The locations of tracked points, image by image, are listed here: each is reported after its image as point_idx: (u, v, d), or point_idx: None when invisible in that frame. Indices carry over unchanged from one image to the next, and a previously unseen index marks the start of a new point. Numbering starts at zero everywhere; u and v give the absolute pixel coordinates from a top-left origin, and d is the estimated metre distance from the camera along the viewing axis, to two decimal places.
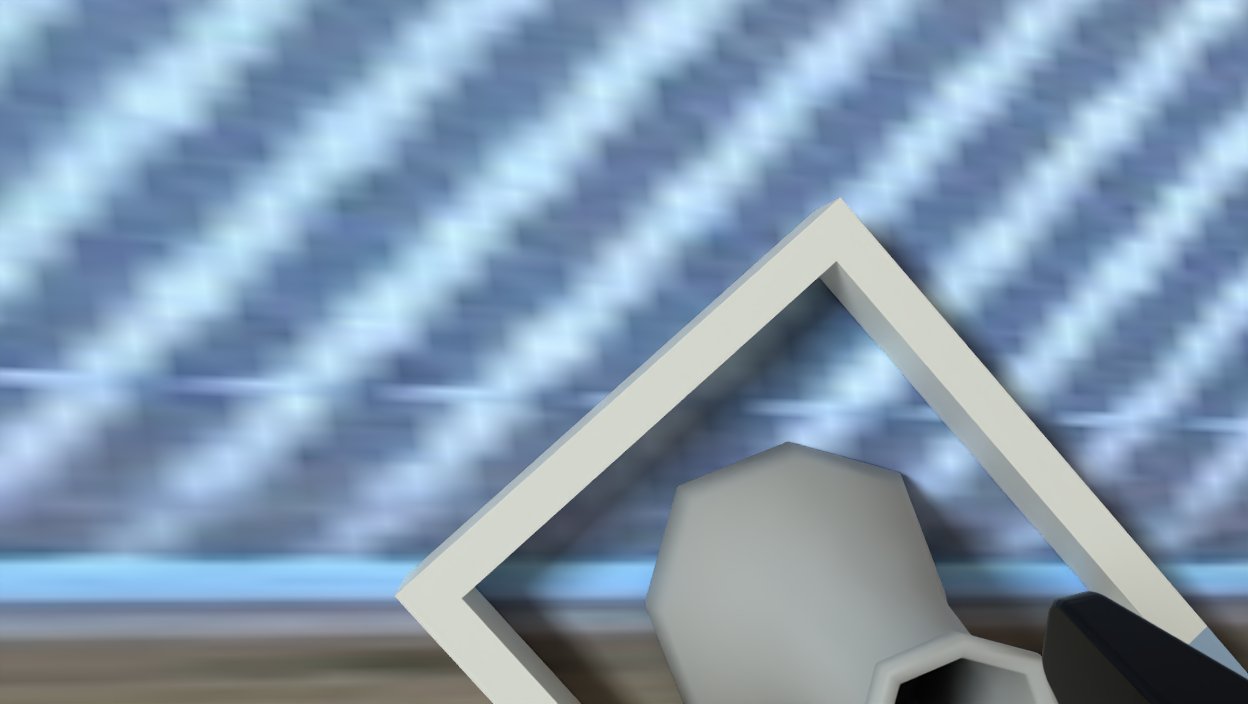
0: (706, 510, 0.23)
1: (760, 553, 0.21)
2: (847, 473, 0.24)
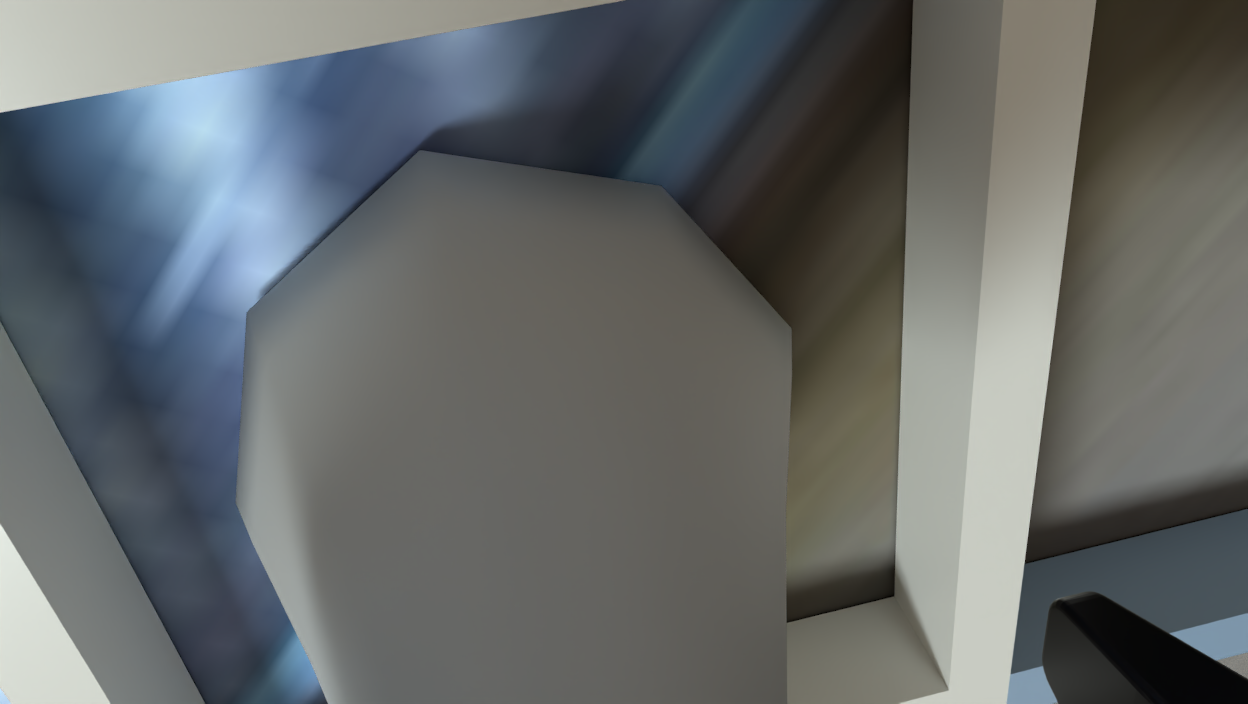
0: (265, 567, 0.12)
1: (327, 690, 0.10)
2: (339, 302, 0.11)
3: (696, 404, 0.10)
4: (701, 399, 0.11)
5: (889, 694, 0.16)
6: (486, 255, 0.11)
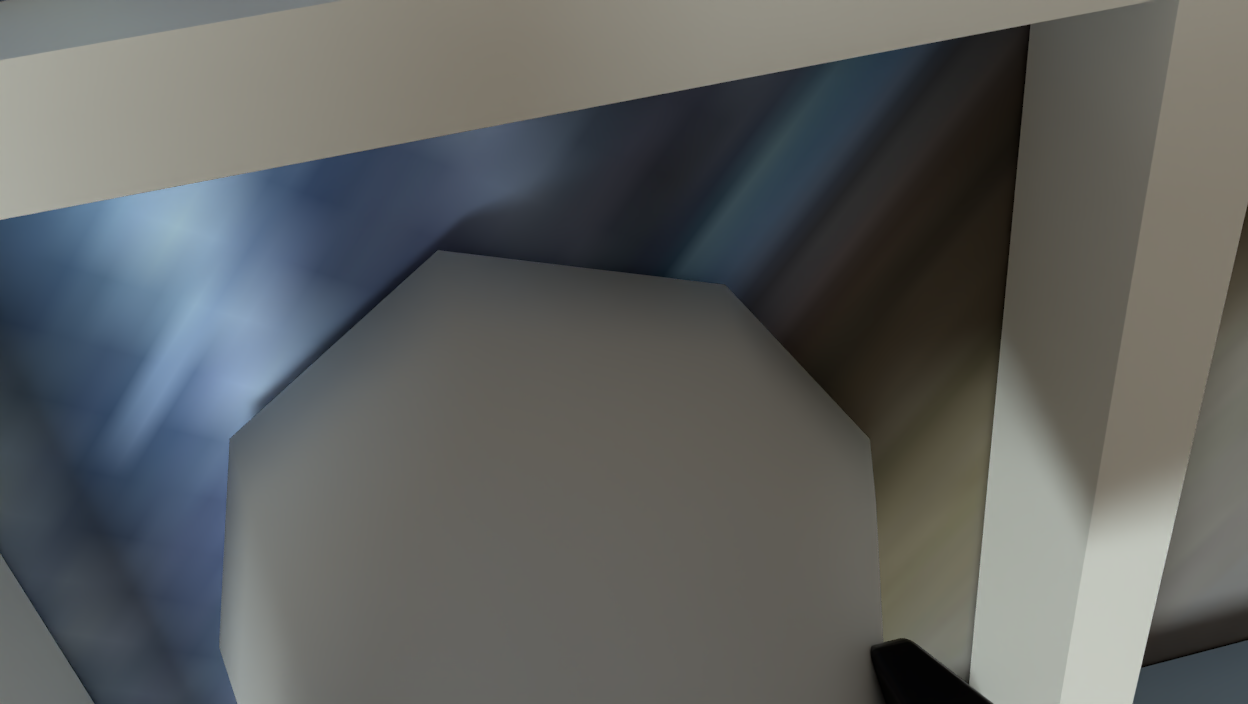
0: None
1: None
2: (341, 439, 0.09)
3: (782, 577, 0.08)
4: (786, 564, 0.09)
5: None
6: (521, 389, 0.09)
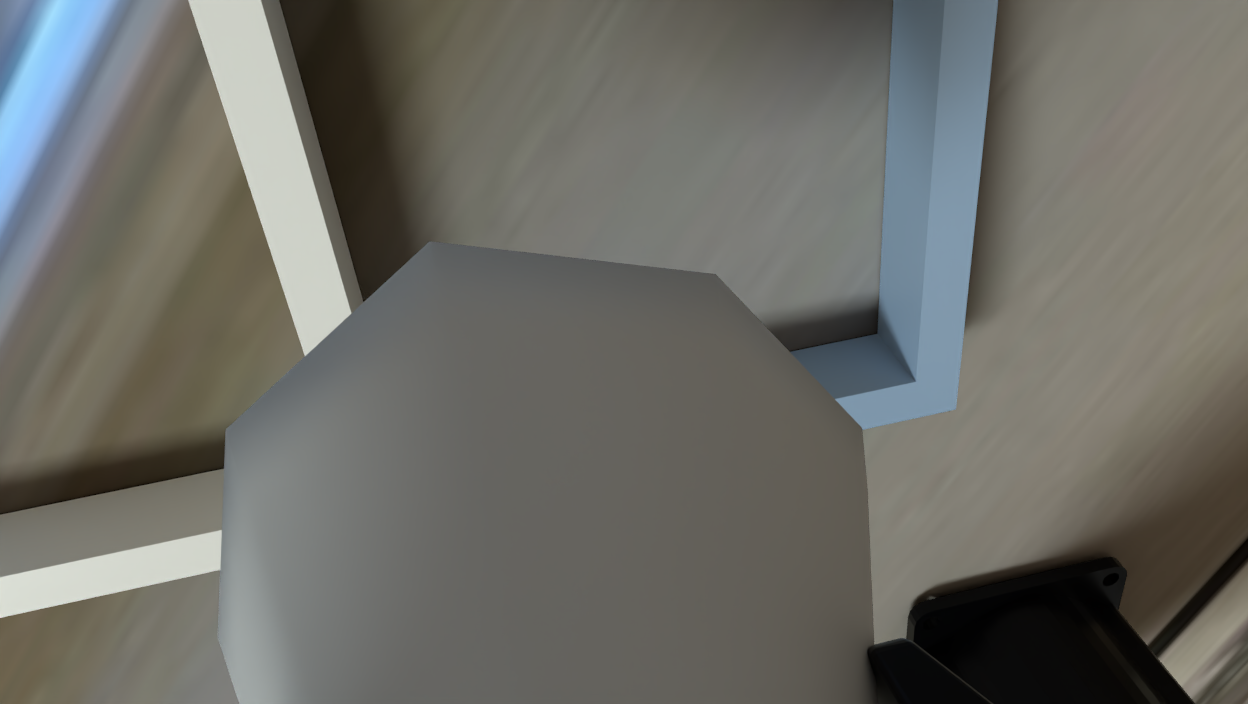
0: None
1: None
2: (334, 428, 0.09)
3: (771, 561, 0.09)
4: (775, 550, 0.09)
5: None
6: (512, 377, 0.09)
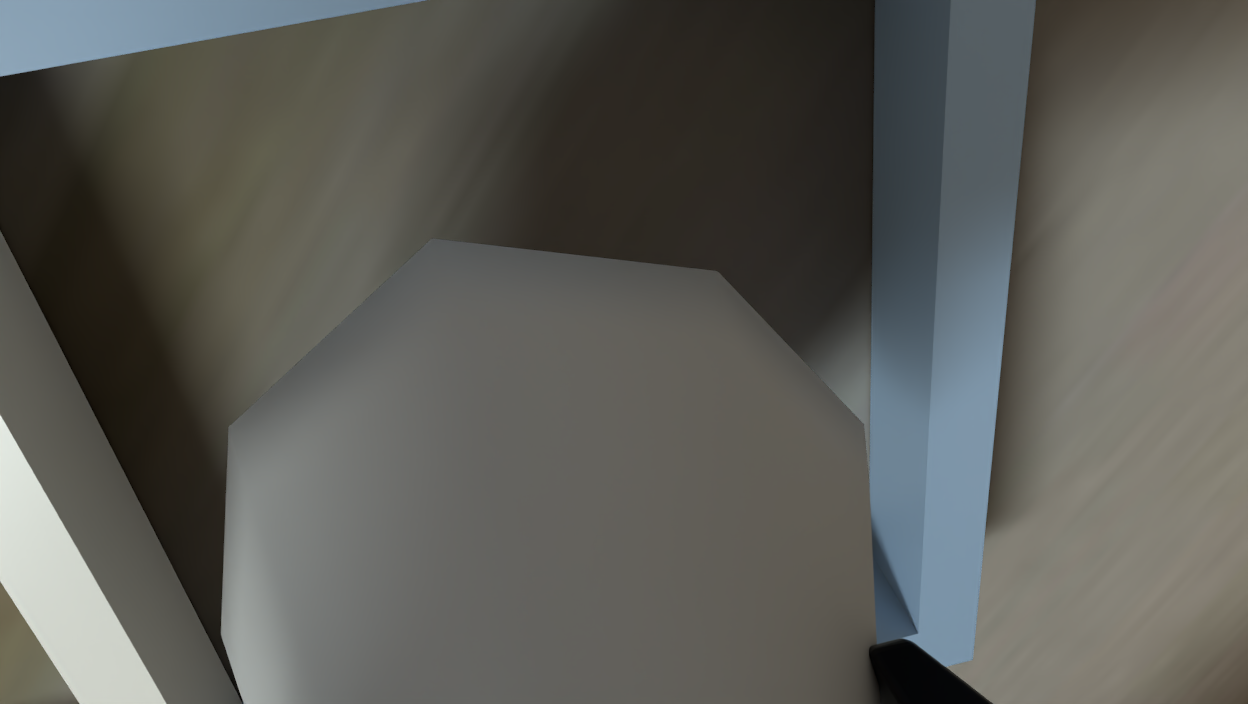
0: None
1: None
2: (338, 425, 0.09)
3: (773, 557, 0.09)
4: (777, 546, 0.09)
5: None
6: (514, 373, 0.09)
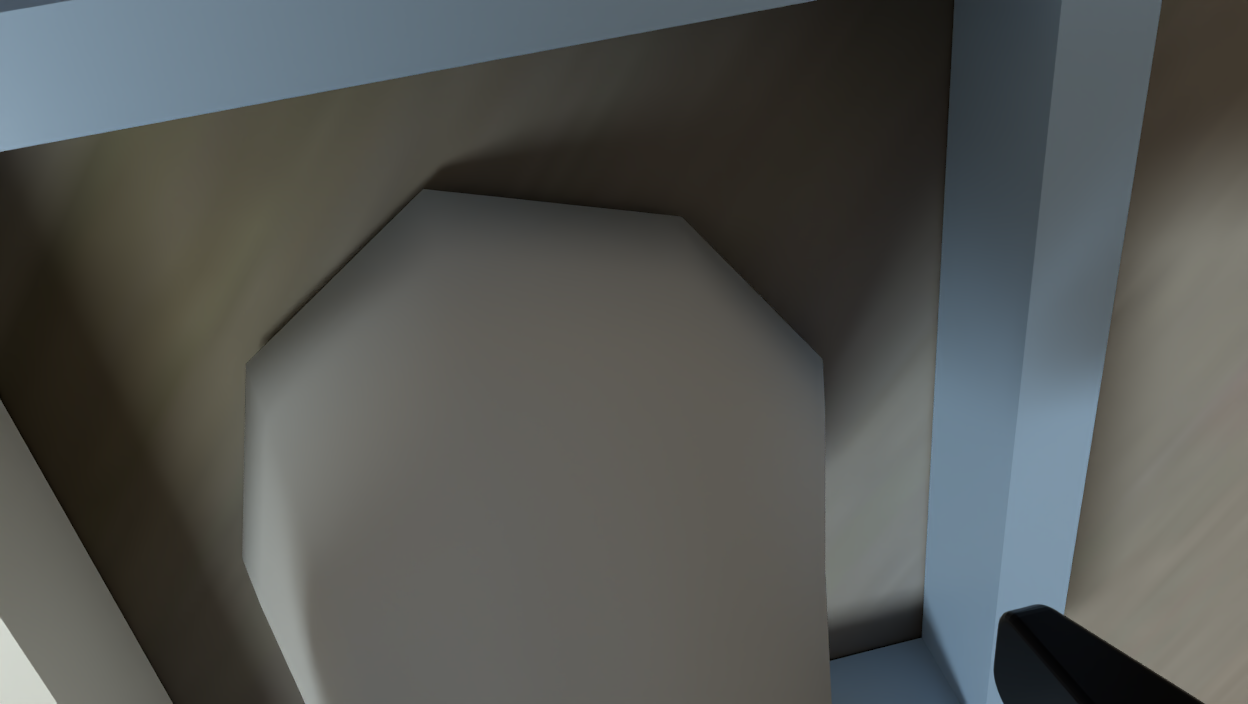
0: (273, 632, 0.12)
1: None
2: (342, 354, 0.10)
3: (726, 458, 0.10)
4: (731, 451, 0.10)
5: None
6: (496, 303, 0.10)
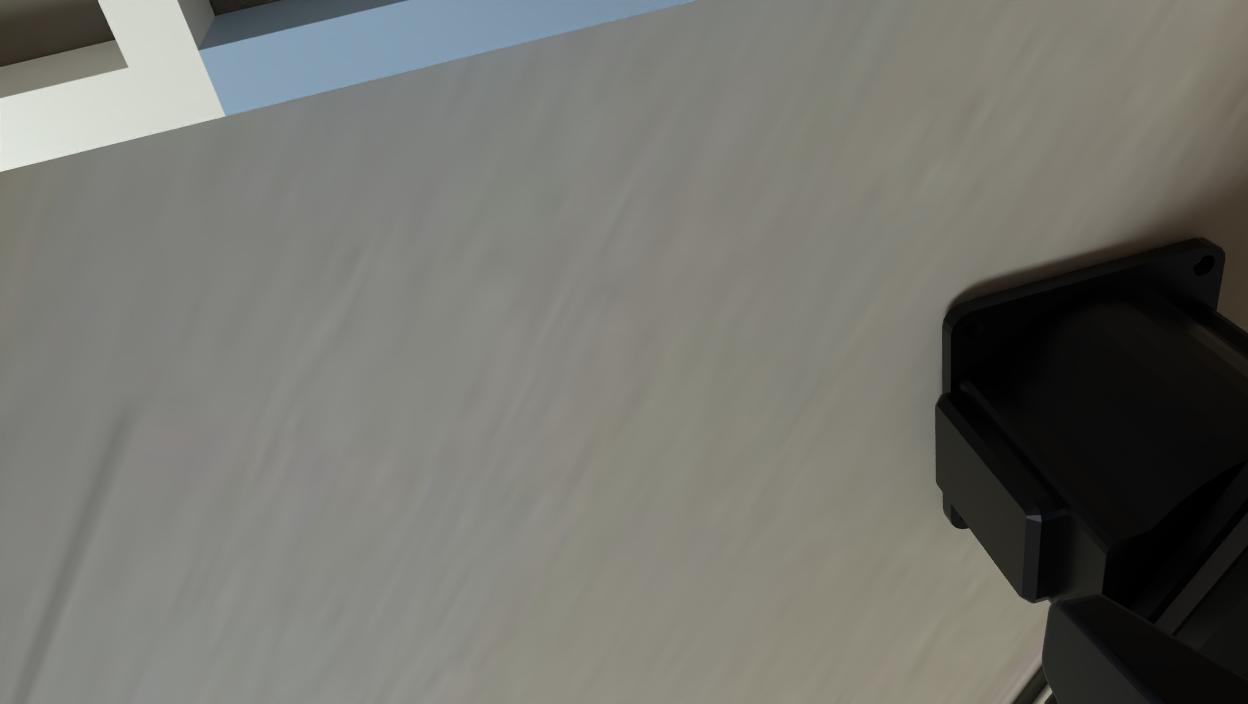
0: None
1: None
2: None
3: None
4: None
5: (69, 78, 0.15)
6: None
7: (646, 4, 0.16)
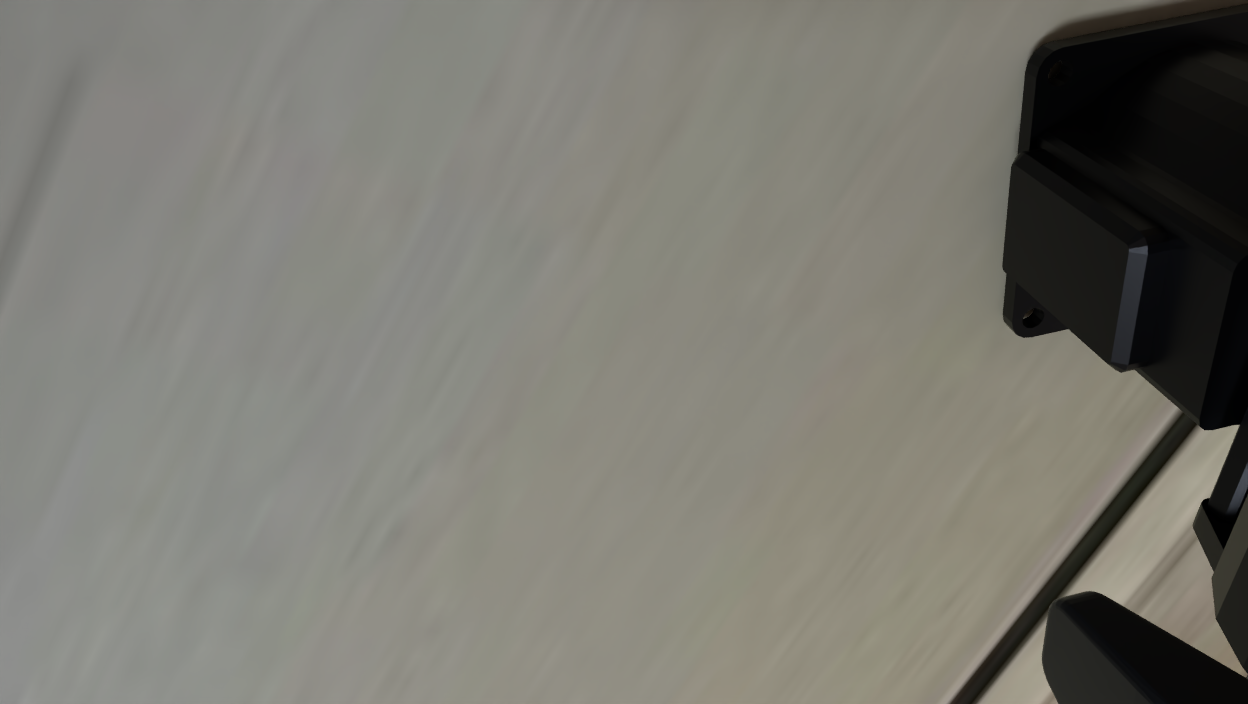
0: None
1: None
2: None
3: None
4: None
5: None
6: None
7: None
